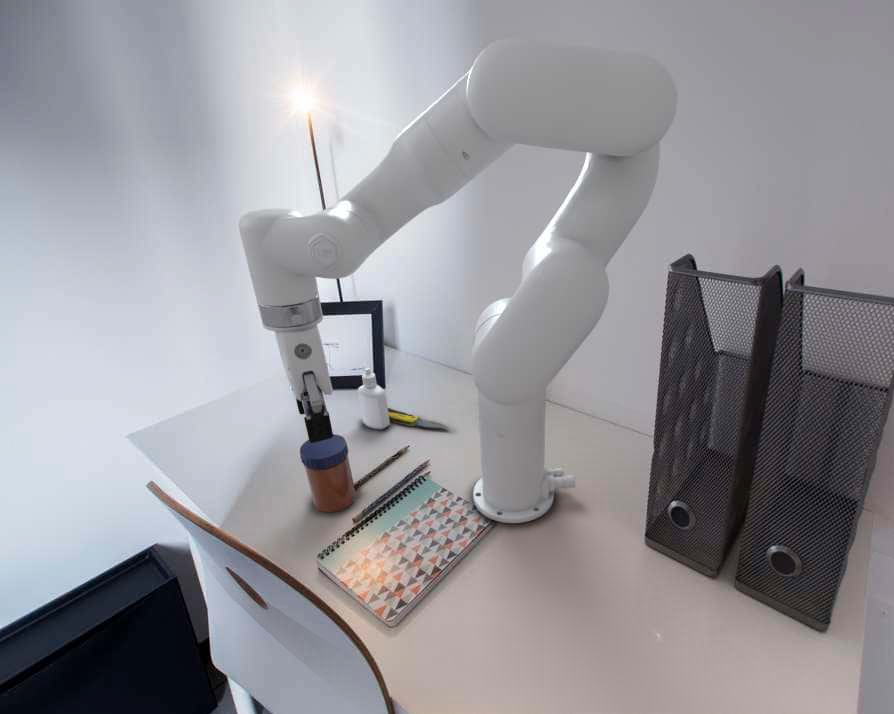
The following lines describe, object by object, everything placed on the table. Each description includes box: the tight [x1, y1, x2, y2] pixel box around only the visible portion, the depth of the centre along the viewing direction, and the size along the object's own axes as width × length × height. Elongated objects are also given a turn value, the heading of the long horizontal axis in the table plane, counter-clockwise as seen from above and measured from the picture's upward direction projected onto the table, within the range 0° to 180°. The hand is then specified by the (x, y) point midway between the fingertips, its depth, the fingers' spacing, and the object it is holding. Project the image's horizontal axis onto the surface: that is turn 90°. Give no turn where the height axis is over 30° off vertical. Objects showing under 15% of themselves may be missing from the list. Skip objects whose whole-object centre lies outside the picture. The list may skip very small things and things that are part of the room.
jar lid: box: [299, 433, 349, 469], centre depth 79 cm, size 7×7×2 cm
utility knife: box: [388, 407, 450, 430], centre depth 103 cm, size 16×1×3 cm
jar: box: [304, 455, 357, 513], centre depth 81 cm, size 6×6×10 cm
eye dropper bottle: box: [357, 367, 391, 430], centre depth 100 cm, size 4×6×12 cm
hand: (315, 424), depth 77 cm, fingers open, 8 cm apart
